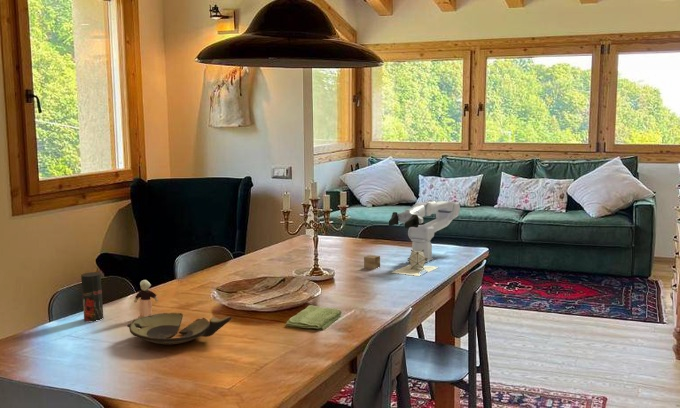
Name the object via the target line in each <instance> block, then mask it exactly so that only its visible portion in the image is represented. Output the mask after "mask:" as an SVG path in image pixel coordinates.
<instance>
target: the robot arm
mask: <svg viewBox="0 0 680 408" xmlns="http://www.w3.org/2000/svg"><path fill="white" fill-rule="evenodd" d="M460 211H461V206H460V203H459V202H458V201H447V200H445V201H444V200H438V201H435V200H433V199H429V200H424V202H415V204H414V206H413V207H411V208H406V209H404V211H403V212H399V213H398V212H395V211H393V212H392V214H391V216H390V219H389V220H388V226H390V227H391V226H394V225H396V226H399V222H400V223H402V224H403V225H404V229H408V231H407V235H408V238H409V239H410V241H411V242H412V247H411V248H412V249H411V250H412V251H422V250H424V251H423V253H424V255H425V257H426V258H428V259H426V260H427V261H425V263H428V262H429V261H430V262H431V261H432V260H434V258H435V257H433V256H432V255H433V250H432V249H433V246H432V242H431V240H432V239H433V238H434V237H435V233H437V232H438V231H440V230H441V231H442V229H444V228H447V227H448V226H449V225H450V223H452V222H453V220H454V219H456V218H457V217H459V215H460ZM432 214H433V215H434V214H435V219H432V220H431V221H428V222H426V223H424V217H430V216H432ZM422 223H424V224H422ZM412 251H411V252H412Z"/></svg>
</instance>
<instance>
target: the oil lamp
mask: <svg viewBox="0 0 680 408" xmlns="http://www.w3.org/2000/svg"><path fill="white" fill-rule="evenodd" d="M183 315H184V314H183V313H179V312H178V313H177V312H169V313H168V312H163V313H156V314H152V315H151V316H147V317H143V318H140V319H138V318H137V319H133V320H131V323H128V324H126V325H127V326H126V327H127V328H129V333H130V334H131V335H132V336H134V337H136V338H138V339H141V340H144V341H147V342H150V343H153V344H159V345H166V346H167V345H177V344H184V343H187V342H190V341H193V340H196V339H198V338H200V337H203V338H204V337H205V338H206V337H207V338H208V337H211V336H213V335H214V334H215V333H216V332H218V331H219V330H220V329H222V328H223V327H224V326H225V325H226V324H228V322H230V321H231V320H232V318H233V317H232V316H230V315H229V316H225V317H224V318H217V317H213V316H212V317H211V318H210V319H209V320H208V319H206V318H205V317H202V318H197V319H195V320H193V321H192V322H191V323H189V324H188V325H187V326H185V327H184V328H182V329H181V330H180V327H181V324H182V320H183V317H184V316H183ZM178 333H179V334H180V335H182V336H180V337H174V336H176V334H178Z"/></svg>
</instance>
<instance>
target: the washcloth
mask: <svg viewBox="0 0 680 408" xmlns="http://www.w3.org/2000/svg"><path fill="white" fill-rule="evenodd" d="M342 313H343V311H342V310H341V309H340V308H339V309H338V308H332V307H331V308H330V307H322V306H319V305H310V304H309V305H308V306H307V307H305V309H302V310H301V311H299V312H298V313H297V314H295V315H293V316H292V317H290V318H289V319H288V320H287V321H286V322H285V326H287V327H293V328H302V329H313V330H320V331H324V330H326V329H327V328H328V327H330V325H332V324H333V323H334V322H335V321H337V320H338V319H339V318H340V317H341V316H342Z"/></svg>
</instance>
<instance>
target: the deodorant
mask: <svg viewBox="0 0 680 408" xmlns="http://www.w3.org/2000/svg"><path fill="white" fill-rule="evenodd" d="M80 277H81V279H80V280H81V291H82V306H83V307H82V309H83V319H84V320H86V321H96V320H100V319H102V318H103V319H104V306H103V290H102V276H101V273H100V272H93V271H91V272H85V273H82V274H80ZM103 319H102V320H103ZM86 321H85V322H86ZM100 321H101V320H100ZM96 322H97V321H96Z"/></svg>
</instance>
